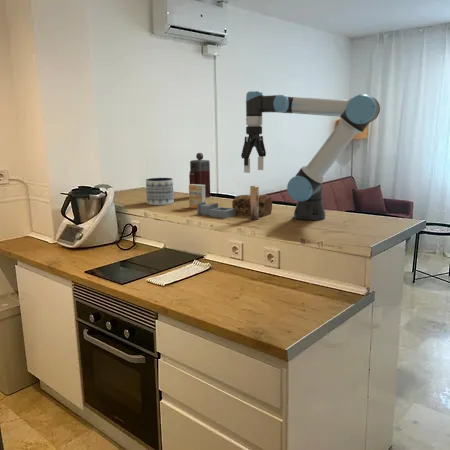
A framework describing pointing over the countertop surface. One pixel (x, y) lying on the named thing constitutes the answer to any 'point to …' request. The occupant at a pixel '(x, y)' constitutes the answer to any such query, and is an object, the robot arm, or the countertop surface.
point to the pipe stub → (254, 202)
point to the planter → (159, 191)
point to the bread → (244, 205)
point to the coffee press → (200, 173)
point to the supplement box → (196, 195)
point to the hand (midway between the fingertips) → (253, 171)
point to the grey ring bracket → (215, 210)
